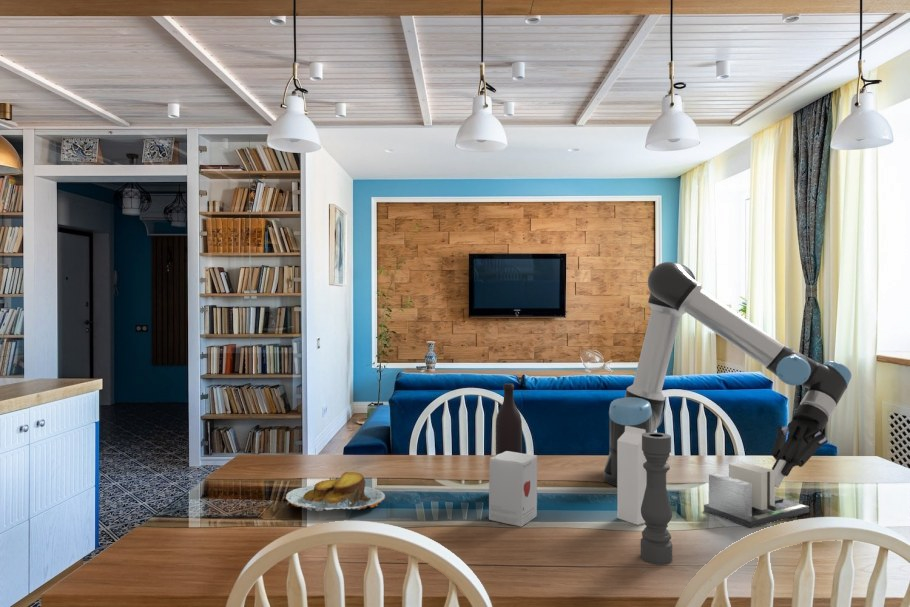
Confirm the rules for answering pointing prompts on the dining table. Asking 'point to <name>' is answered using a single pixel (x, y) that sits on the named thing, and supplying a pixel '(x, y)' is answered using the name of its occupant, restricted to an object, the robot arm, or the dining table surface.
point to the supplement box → (513, 488)
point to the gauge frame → (745, 503)
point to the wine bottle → (508, 424)
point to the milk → (630, 475)
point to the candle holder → (656, 500)
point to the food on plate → (336, 494)
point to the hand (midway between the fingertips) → (773, 483)
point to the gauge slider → (756, 483)
